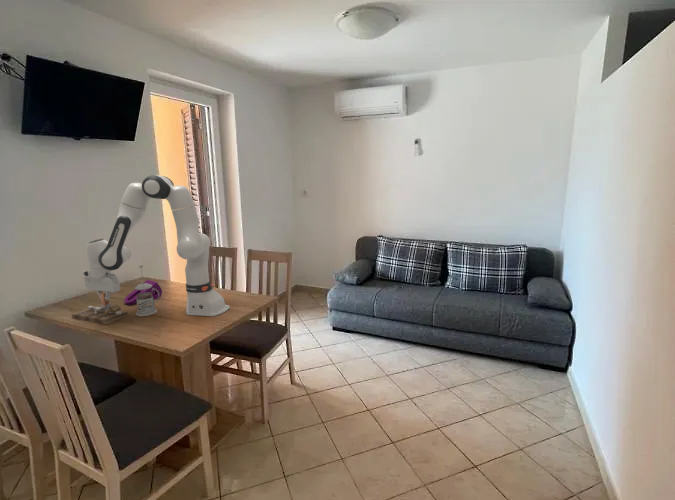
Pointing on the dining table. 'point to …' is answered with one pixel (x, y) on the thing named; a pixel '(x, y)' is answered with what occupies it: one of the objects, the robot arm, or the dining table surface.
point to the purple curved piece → (133, 295)
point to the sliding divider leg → (103, 303)
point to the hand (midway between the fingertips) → (104, 299)
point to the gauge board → (100, 314)
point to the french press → (145, 308)
